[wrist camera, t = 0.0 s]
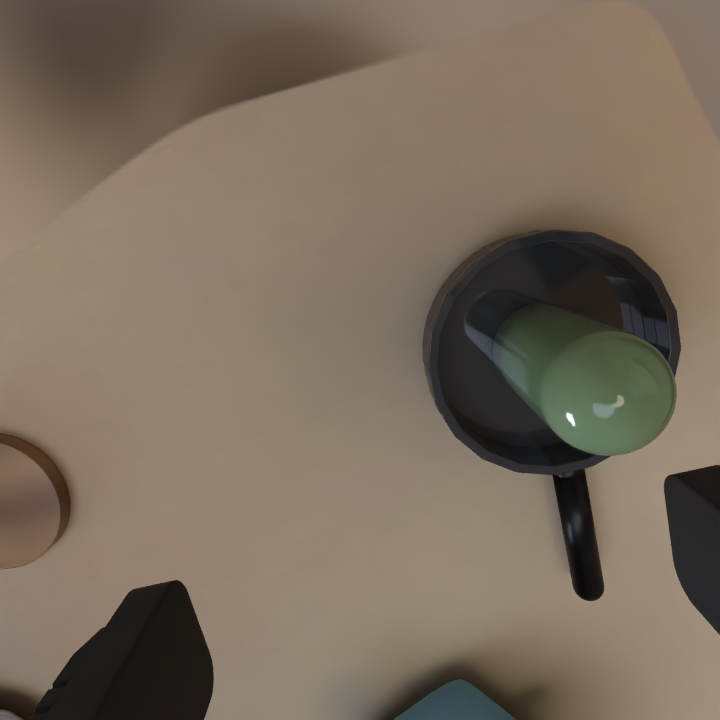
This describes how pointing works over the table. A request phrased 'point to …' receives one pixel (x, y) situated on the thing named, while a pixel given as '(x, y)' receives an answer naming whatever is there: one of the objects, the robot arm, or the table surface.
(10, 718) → the stone
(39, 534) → the disc
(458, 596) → the table surface
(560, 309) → the green capsule
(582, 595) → the pan handle
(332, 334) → the table surface
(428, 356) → the steel pan
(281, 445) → the table surface
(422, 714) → the teapot
